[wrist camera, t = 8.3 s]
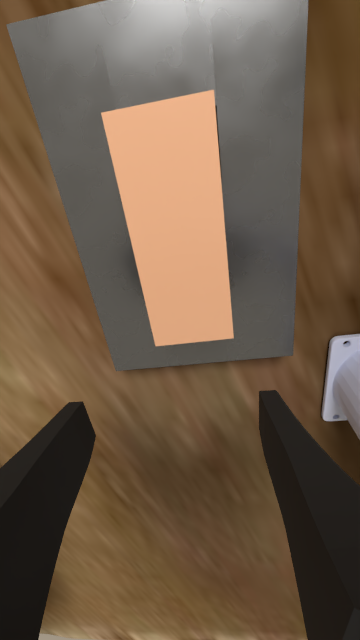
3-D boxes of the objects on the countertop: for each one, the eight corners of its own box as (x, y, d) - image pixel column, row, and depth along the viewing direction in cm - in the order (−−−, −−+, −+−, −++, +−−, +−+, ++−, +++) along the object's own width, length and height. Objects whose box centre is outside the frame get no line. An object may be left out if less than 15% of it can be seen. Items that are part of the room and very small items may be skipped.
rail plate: (294, -19, 12) (310, -49, 11) (284, 338, 21) (293, 355, 19) (30, 41, 14) (6, 24, 12) (122, 354, 22) (116, 370, 20)
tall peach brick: (208, 113, 15) (213, 89, 10) (224, 294, 19) (233, 338, 14) (131, 128, 15) (101, 112, 10) (165, 301, 20) (155, 346, 15)
